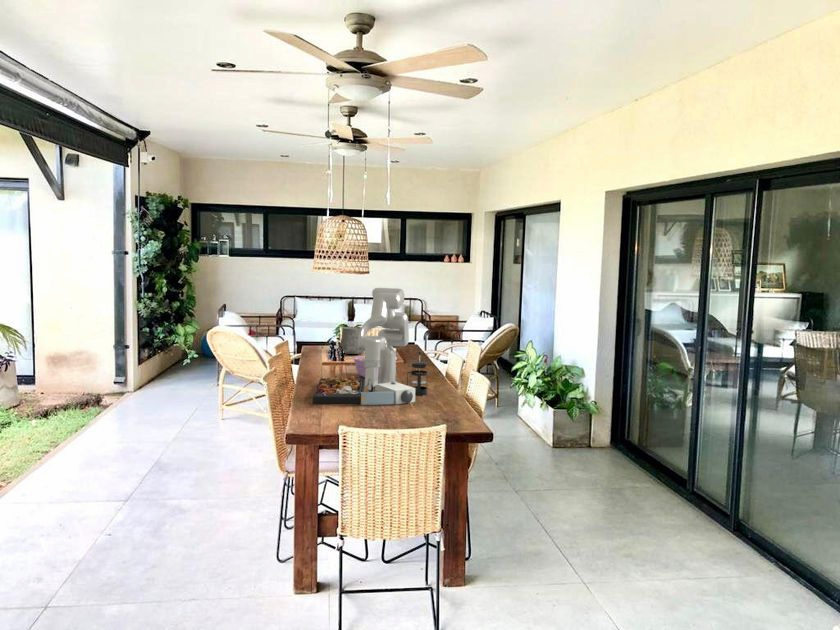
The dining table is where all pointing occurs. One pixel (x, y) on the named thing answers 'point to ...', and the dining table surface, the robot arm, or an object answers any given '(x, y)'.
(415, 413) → the dining table surface
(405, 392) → the grey box with knob
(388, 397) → the side door
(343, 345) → the vessel
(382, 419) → the dining table surface
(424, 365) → the french press
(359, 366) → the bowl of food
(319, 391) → the food platter
